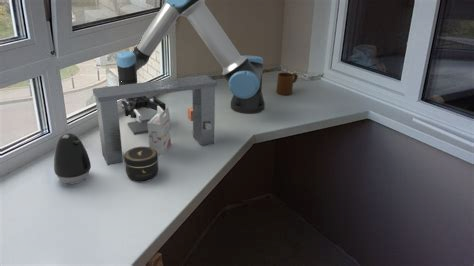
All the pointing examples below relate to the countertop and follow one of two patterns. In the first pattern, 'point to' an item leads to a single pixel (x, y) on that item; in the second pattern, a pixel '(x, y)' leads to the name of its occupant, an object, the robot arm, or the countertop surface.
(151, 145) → the ink cartridge box
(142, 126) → the mat
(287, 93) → the mug
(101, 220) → the countertop surface
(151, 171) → the jar
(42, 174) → the countertop surface
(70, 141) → the black egg-shaped piece
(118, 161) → the grey gantry arch
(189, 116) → the terracotta clay block
